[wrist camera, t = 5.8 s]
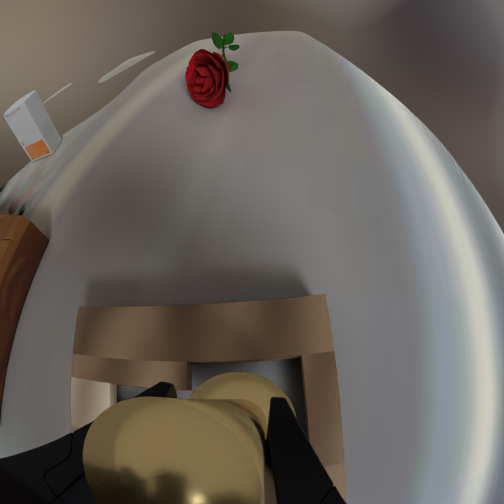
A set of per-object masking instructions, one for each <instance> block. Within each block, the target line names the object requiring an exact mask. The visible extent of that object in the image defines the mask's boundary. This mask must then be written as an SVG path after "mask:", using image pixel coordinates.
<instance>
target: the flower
mask: <svg viewBox="0 0 504 504" xmlns="http://www.w3.org/2000/svg"><path fill="white" fill-rule="evenodd" d="M212 40H213V43H214V44H215V46H216V47H217V48H219V49H221V48H223V51H222V53H223V54H222V57H221V55H219V54H218V53H215V52H213V54H212V53H210V52H208V51H206V50H204V49H200V50H198V51H197V52H195V54H194V55H193V56H192V58H191V60H190V61H189V66H188V67H187V71H186V77H185V78H186V82H187V88H188V91H189V92H191V97H192V98H193V99H194V100H195V101H196V102H197V103H199V104H201V105H204V106H206V107H209V108H215V107H217V106H218V105H219V104H223V102H224V98H225V89H226V87H227V88H228V89H229V91H230V92H231V90H230V85H229V83H228V81H229V71H230V72H232V71H234V70H236V69H237V68H238V64H237V63H236V62H233V61H228V62H227V59H226V57H225V53H224V49H225V48H226V47H225V48H224V46H225V45H226V46H227V45H229V44H231V43H233V41H234V35H233V34H232V33H231V32H229V33H228V34H227V35H226V36H225V35H224V36H223V39H222V37H221V36H219V35H218V34H216V33H213V32H212ZM238 48H239V45H230V46H229V49H230V50H233V51H234V50H237V49H238ZM223 57H224V59H225V60H224V59H223Z"/></svg>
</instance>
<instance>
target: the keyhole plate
mask: <svg viewBox="0 0 504 504" xmlns="http://www.w3.org/2000/svg"><path fill="white" fill-rule="evenodd" d="M291 358H300V360H301V370H302V380H303V391H304V403H305V415H306V428H307V438H308V440H309V442H310V443H311V445H312V447H313V449H314V450H315V452H316V454H317V456H318V457H319V459H320V461H321V463H322V464H323V466H324V468H325V470H326V471H327V473H328V475H329V476H330V478H331V480H332V481H333V483H334V485H333V486H336V488H337V490H338V491H339V493H340V495H341V496H342V498H343V499H344V501H345V470H344V448H343V433H342V420H341V408H340V398H339V388H338V379H337V370H336V362H335V354H334V347H333V340H332V333H331V326H330V320H329V313H328V307H327V301H326V295H325V294H322V295H313V296H303V297H293V298H282V299H271V300H258V301H245V302H230V303H214V304H195V305H171V306H132V307H79V309H78V316H77V323H76V331H75V339H74V349H73V362H72V379H71V426H72V433H73V431H75V430H77V429H79V428H81V427H83V426H85V425H86V424H88V423H90V422H92V421H94V420H95V419H96V418H97V417H98V416H99V415H100V414H101V413H102V412H103V411H104V410H106V409H107V408H109V407H110V406H112V405H114V404H116V403H117V385H124V386H133V387H143V388H150V387H152V386H154V385H155V384H157V383H159V382H161V381H163V382H168V383H172V384H174V386H175V389H176V390H192V366H191V364H212V363H240V362H257V361H270V360H281V359H291ZM261 504H265V496H264V478H263V490H262V500H261Z"/></svg>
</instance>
